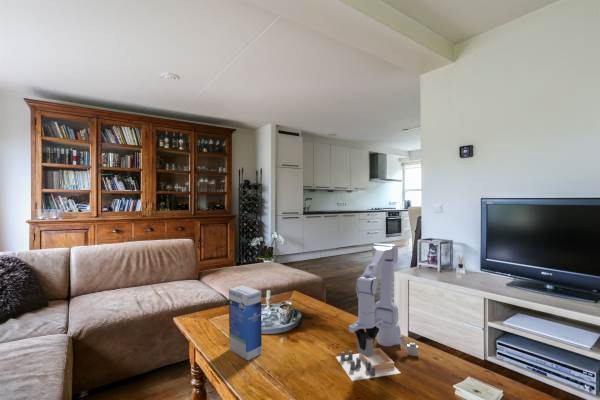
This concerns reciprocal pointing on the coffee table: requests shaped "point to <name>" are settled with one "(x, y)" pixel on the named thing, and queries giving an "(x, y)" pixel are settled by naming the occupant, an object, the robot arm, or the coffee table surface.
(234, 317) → the string lights box
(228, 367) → the coffee table surface
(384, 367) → the frame
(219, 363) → the coffee table surface
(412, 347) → the lighter
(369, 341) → the block
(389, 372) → the board
